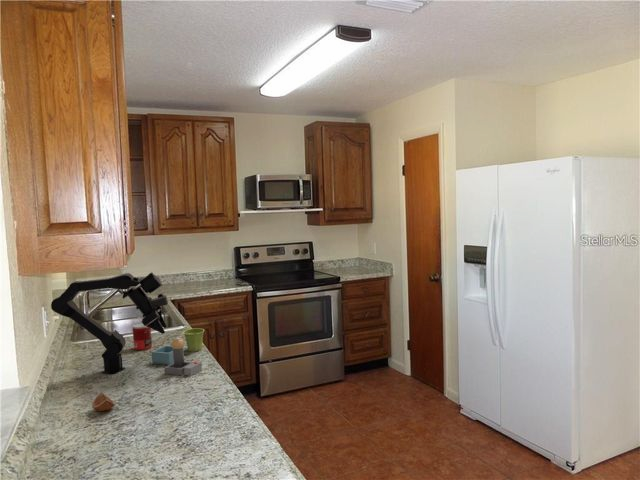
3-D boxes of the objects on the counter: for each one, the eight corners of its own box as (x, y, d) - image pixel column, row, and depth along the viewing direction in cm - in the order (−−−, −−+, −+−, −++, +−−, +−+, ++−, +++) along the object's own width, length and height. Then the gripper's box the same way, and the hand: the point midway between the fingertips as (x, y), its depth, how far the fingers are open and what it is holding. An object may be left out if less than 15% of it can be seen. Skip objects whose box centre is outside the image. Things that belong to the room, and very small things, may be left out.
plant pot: (208, 346, 220) (207, 328, 219) (201, 353, 210) (200, 333, 210) (188, 346, 221) (187, 328, 220) (181, 353, 211) (179, 334, 211)
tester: (190, 376, 182) (189, 366, 181) (164, 373, 186) (164, 364, 186) (202, 369, 189) (202, 360, 189) (177, 366, 193) (177, 357, 193)
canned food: (148, 350, 217) (146, 326, 216) (131, 351, 218) (129, 327, 217) (154, 345, 225) (153, 322, 224) (138, 346, 225) (136, 323, 224)
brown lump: (117, 411, 153) (116, 396, 152) (95, 418, 149) (93, 402, 149) (112, 403, 160) (111, 389, 159) (90, 409, 156) (89, 394, 156)
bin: (169, 365, 196) (168, 353, 195) (152, 363, 199) (151, 351, 198) (183, 358, 204) (182, 346, 203) (166, 356, 207) (165, 345, 207)
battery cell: (180, 373, 186) (178, 339, 184) (172, 372, 187) (169, 339, 186) (187, 369, 189) (184, 336, 188) (178, 368, 191) (176, 336, 190)
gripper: (155, 292, 184) (180, 323, 187) (160, 284, 202) (182, 313, 205) (131, 309, 183) (156, 341, 186) (137, 300, 201) (160, 328, 204)
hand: (165, 330), depth 195 cm, fingers open, 9 cm apart
